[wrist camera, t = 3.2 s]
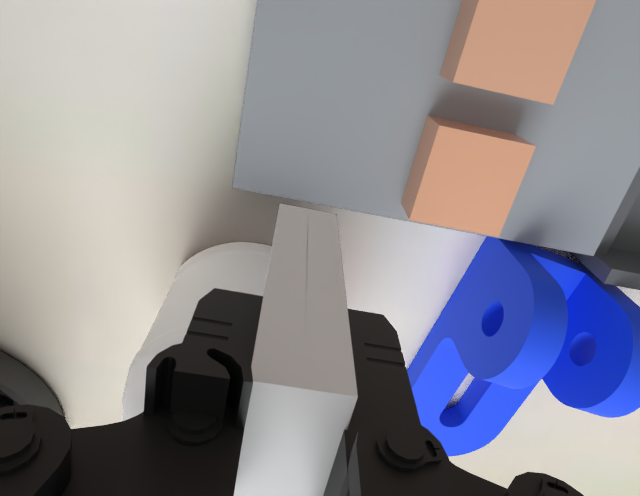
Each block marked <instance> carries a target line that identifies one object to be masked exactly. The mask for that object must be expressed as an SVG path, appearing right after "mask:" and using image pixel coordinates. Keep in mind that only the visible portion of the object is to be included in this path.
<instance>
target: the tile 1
mask: <svg viewBox="0 0 640 496" xmlns="http://www.w3.org/2000/svg"><path fill="white" fill-rule="evenodd" d="M535 148H536V146H535V145H533V144H532V143H530V142H528V141H527V140H525V139H523V138H521V137H520V136H518V135H516V134H512V133H507V132H502V131H498V130H493V129H489V128H484V127H479V126H475V125H470V124H465V123H461V122H456V121H451V120H447V119H442V118H438V117H433V116H428V115H427V118H426V121H425V125H424V128H423V131H422V135H421V138H420V141H419V145H418V148H417V151H416V155H415V158H414V161H413V164H412V168H411V171H410V174H409V178H408V181H407V184H406V188H405V191H404V194H403V197H402V201H401V204H402V206H403V208H404V210H405V212H406V214H407V217H408V219H409V220H411V221H417V222H422V223H427V224H433V225H438V226H443V227H448V228H454V229H459V230H464V231H470V232H475V233H480V234H485V235H491V236H496V237H499V235H500V233H501V231H502V228H503V226H504V223H505V221H506V218H507V216H508V214H509V211H510V209H511V206H512V204H513V201H514V199H515V197H516V194H517V192H518V189H519V187H520V184H521V182H522V180H523V177H524V175H525V172H526V170H527V167H528V165H529V163H530V160H531V158H532V155H533V153H534V150H535Z"/></svg>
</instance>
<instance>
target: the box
mask: <svg viewBox="0 0 640 496" xmlns="http://www.w3.org/2000/svg"><path fill="white" fill-rule="evenodd" d="M571 254H572V255H573V256H574V257H576V258H577V259H578V260H579V261H580V262H581V263H582V264H583V265H584V266H585V267H587V268H588V269H589V270H590V271H591V272H592V273H593V274H594V275H595V276H596V277H598V278H599V279H600V280H601V281H602V282H603V283H604V284H610V285H615V286H621V287H626V288H632V289H637V290H640V167H639V169H638V171H637V173H636V175H635V177H634V179H633V181H632V183H631V184H630V186H629V188H628V190H627V192H626V194H625V196H624V198H623V200H622V202H621V204H620V206H619V208H618V210H617V211H616V213H615V215H614V217H613V219H612V221H611V223H610V225H609V227H608V229H607V231H606V233H605V235H604V237H603V239H602V240H601V242H600V244H599V246H598V248H597V250H596V252H595V254H594V256H590V255H585V254H579V253H574V252H571Z"/></svg>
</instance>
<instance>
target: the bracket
mask: <svg viewBox="0 0 640 496" xmlns="http://www.w3.org/2000/svg"><path fill="white" fill-rule="evenodd" d="M468 372H469V373H470V374H471V375H472V376H474V377H475V378H474V380H473V381H472V383H471V384H470V386H469V387H468V389H467V390H466V392H465V393H464V395H463V396H462V397H461V399H460V400H459V402H458V403H457V404H456V405H455V406H453V407H451V408H447V409H444V408H445V407H446V405H447V404H448V402H449V401H450V399H451V398H452V396H453V395H454V393H455V392H456V390H457V389H458V387H459V386H460V384H461V383H462V381H463V380H464V378H465V377H466V375H467V374H468ZM407 373H408V377H409V381H410V384H411V388H412V392H413V396H414V400H415V403H416V407H417V411H418V415H419V419H420V423H421V425H422V426H423V427H425V428H427V429H428V430H429V431H430V432H431V433H432V434H433V435H434V436H435V437H436V438H437V439H438V440H439V441H440V442H441V444H442V446H443V448H444V450H445V452H446V454H447V456H457V455H462V454H466V453H469V452H472V451H475V450H477V449H479V448H481V447H483V446H485V445H486V444H488V443H489V442H491V441H492V440H493V439H494V438H495V437H496V436H497V435H498V434H499V433H500V432H501V431H502V430H503V428H504V427H505V426H506V424H507V423H508V422H509V420H510V419H511V418H512V416H513V415H514V414H515V412H516V411H517V410H518V408H519V407H520V406H521V404H522V403H523V402H524V400H525V399H526V398H527V396H528V395H529V394H530V393H531V391H532V390H533V389H534V387H535V386H536V385H537V383H538V382H539V381H540V379H543V380H544V382H545V384H546V385H547V387H548V388H549V390H550V391H551V393H552V394H553V395H554V396H555V397H556V398H557V399H558V400H559V401H560V402H562V403H563V404H565V405H567V406H570V407H573V408H576V409H580V410H583V411H586V412H589V413H593V414H596V415H599V416H603V417H620V416H624V415H627V414H629V413H631V412H633V411H635V410H637V409H638V408H639V407H640V307H639V306H638V305H637V304H635V303H634V302H633V301H632V300H631V299H630V298H629V297H628V296H626V295H625V294H624V293H623V292H622V291H621V290H620V289H619V288H617V287H616V286H615V285H610V284H604V283H603V282H602V281H601V280H600V279H599V278H598V277H596V276H595V275H594V274H593V273H592V272H591V271H590V270H589V269H588V268H587V267H585V266H584V265H583V264H581V263H578V262H576V261H573V260H570V259H568V258H565V257H562V256H560V255H557V254H554V253H552V252H549V251H546V250H544V249H541V248H538V247H536V246H533V245H530V244H526V243H521V242H516V241H510V240H505V239H500V238H495V237H489V236H487V237H486V239H485V240H484V242H483V244H482V246H481V247H480V249H479V251H478V252H477V254H476V256H475V257H474V259H473V261H472V262H471V264H470V266H469V267H468V269H467V271H466V272H465V274H464V276H463V277H462V279H461V281H460V282H459V284H458V286H457V287H456V289H455V291H454V293H453V294H452V296H451V298H450V299H449V301H448V303H447V304H446V306H445V308H444V309H443V311H442V313H441V314H440V316H439V318H438V319H437V321H436V323H435V324H434V326H433V328H432V329H431V331H430V333H429V335H428V336H427V338H426V340H425V341H424V343H423V345H422V346H421V348H420V350H419V351H418V353H417V355H416V356H415V358H414V360H413V361H412V363H411V365H410V366H409V368H408V370H407Z"/></svg>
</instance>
